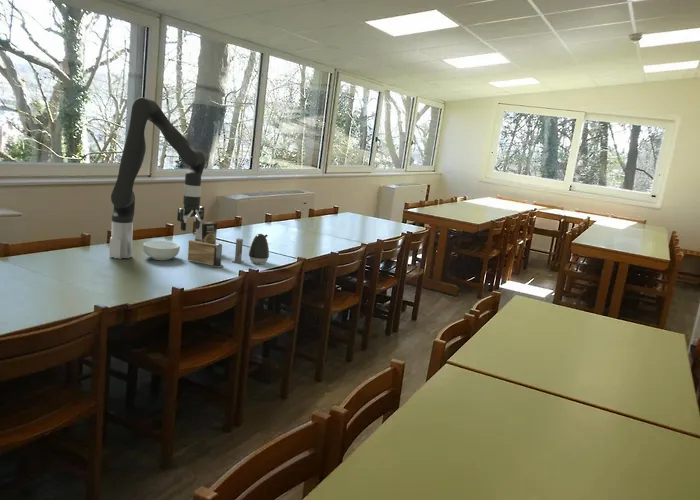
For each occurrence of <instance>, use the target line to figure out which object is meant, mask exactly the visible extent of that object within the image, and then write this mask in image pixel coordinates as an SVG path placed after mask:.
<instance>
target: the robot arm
mask: <svg viewBox="0 0 700 500" xmlns="http://www.w3.org/2000/svg"><path fill="white" fill-rule="evenodd" d="M129 119H130V120H129V126H128V129H127V133H126V139H125V143H124V145H123V150H122V154H121V158H120V163H119V169H118V174H117V179H116V182H115V184H114V187H113V189H112V192H111V194H110V201H111V203H112V204H113V211H112V214H111V231H110V232H111V236H110V238H109V256H110V257H109V256H108V257H109V258H112V257H114V258H113V259H117V258H118V260H122V258H127V259H131V258H132V255H133V234H134V233H133V227H134V226H133V225H134V215H135V208H136V207H135V205H136V196H135V192H134V190H133V189H134V185H135V180H136V178H137V176H138V175H139V172H140V170H141V168H142V165H143V163H144V159H145V154H146V149H147V146H146V138H145V129H146V125H147V121H150V122H151V123H152V124H153V125H154V126H156V127H157V128H158V129H159V132H160V133H161V134H162V135H163V138H164V140H165V141H166V142H167V143H168V144H169V145H170V147H171V148H172V149H173V150H174V151H176V153H177V155H178V157H180V160H181V161H182V162H183V163H184V164H185V165H186V166H187V167H189V169H188V171H187V172H185V177H184V187H183V196H182V197H183V199H182V200H183V201H182V204H183V208H180V207H178V208H177V215H176V216H177V217H176V218H177V219H176V221H178V222H180V230H181V231H184V232H185V231H186V230H187V221H188V220H189V219H190V218H194V219H195V220H194V229H195V230H196V229H199V227H200V222H202V220H204V219H205V207H203V206H200V205H201V195H202V186H201V185H202V174H203V172H204V168H205V163H206V158H205V155H204V153H203V152H202V151H200V150H193V149H192V148H191V147H190V142H189V140H188V139H187V138H186V137H185V136H184V135H183V134H182V133H181V132H180V131H179V130H178V129H177V128H176V127H175V126H174V124H173V123H172V122H171V121H170V120H169V119H168V117H167V116H166V114H164V112H163V110H162V109H161V108H160V106H159V104H158V103H157V102H156V101H154V100H152V99H149V98H147V97H138V98H136V99H134V101H133V103H132V106H131V113H130V118H129ZM130 257H131V258H130Z"/></svg>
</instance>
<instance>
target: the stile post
mask: <svg viewBox="0 0 700 500" xmlns="http://www.w3.org/2000/svg"><path fill="white" fill-rule="evenodd" d="M243 243H244V238H240V237H239V238H236V242H235V253H234V254H235V255H234V259H233V260H232V261H231V263H234V264H238V265H240V264H242V263H244V262H245V260H242V255H243Z"/></svg>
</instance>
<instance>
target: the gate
mask: <svg viewBox="0 0 700 500" xmlns="http://www.w3.org/2000/svg"><path fill="white" fill-rule="evenodd" d="M187 252H188V253H187V260H188V261H191V262H196V263H201V264H206V265H211V266H212V265H215V255H216V245H214V244H209V243H204V242H198V241H195V240H193V239H190V240H188V251H187Z"/></svg>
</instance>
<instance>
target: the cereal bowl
mask: <svg viewBox="0 0 700 500" xmlns="http://www.w3.org/2000/svg"><path fill="white" fill-rule="evenodd" d="M142 246H143V247H142V248H143V252H144V254H145V255H147V256H148V257H150V258H152V259H153V260H156V261H169V260H170V259H173V258H174V257H177V256H178V254H179V252H180V248H181V245H180V244H179V243H176V242H173V241H168V240H167V241H166V240H150V241H145V242H144V243H143V244H142Z"/></svg>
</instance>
